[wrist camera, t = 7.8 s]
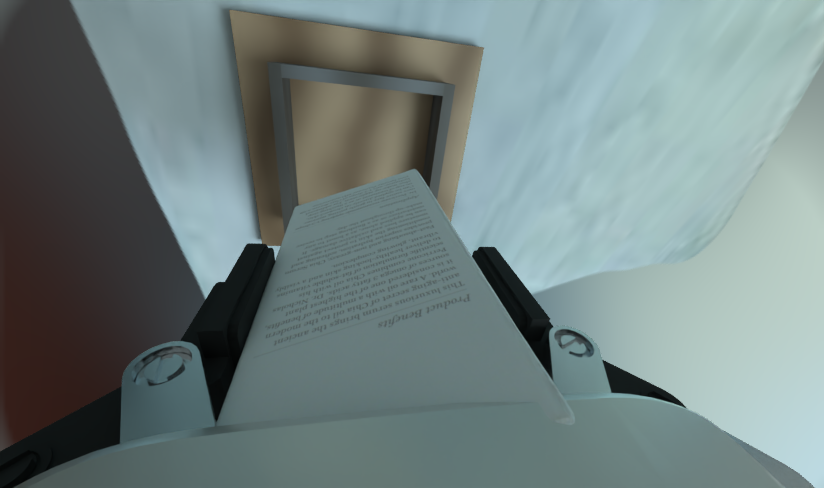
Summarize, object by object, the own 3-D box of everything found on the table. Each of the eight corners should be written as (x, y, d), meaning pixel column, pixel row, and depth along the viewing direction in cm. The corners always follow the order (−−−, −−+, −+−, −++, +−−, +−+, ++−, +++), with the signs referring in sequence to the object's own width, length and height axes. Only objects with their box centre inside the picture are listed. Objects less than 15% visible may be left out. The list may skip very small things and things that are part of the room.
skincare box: (329, 274, 17) (293, 619, 6) (293, 204, 14) (144, 560, 4) (439, 240, 17) (577, 527, 6) (419, 164, 14) (585, 419, 4)
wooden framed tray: (479, 48, 25) (499, 46, 22) (443, 243, 34) (453, 263, 30) (234, 11, 21) (212, 2, 18) (264, 240, 30) (253, 262, 27)
